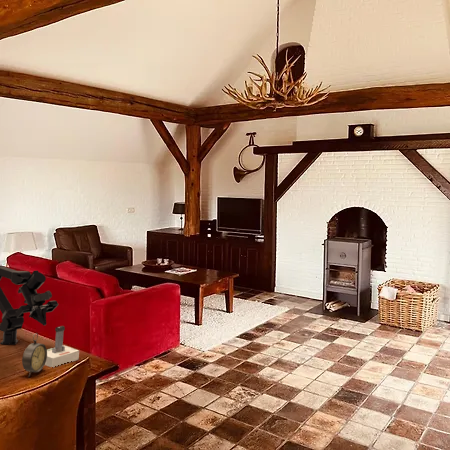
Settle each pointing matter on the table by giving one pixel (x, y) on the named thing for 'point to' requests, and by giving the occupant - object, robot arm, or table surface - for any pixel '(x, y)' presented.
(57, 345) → the breaker lever
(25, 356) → the alarm clock
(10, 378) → the table surface
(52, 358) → the switch box
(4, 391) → the table surface
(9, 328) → the robot arm
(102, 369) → the table surface
